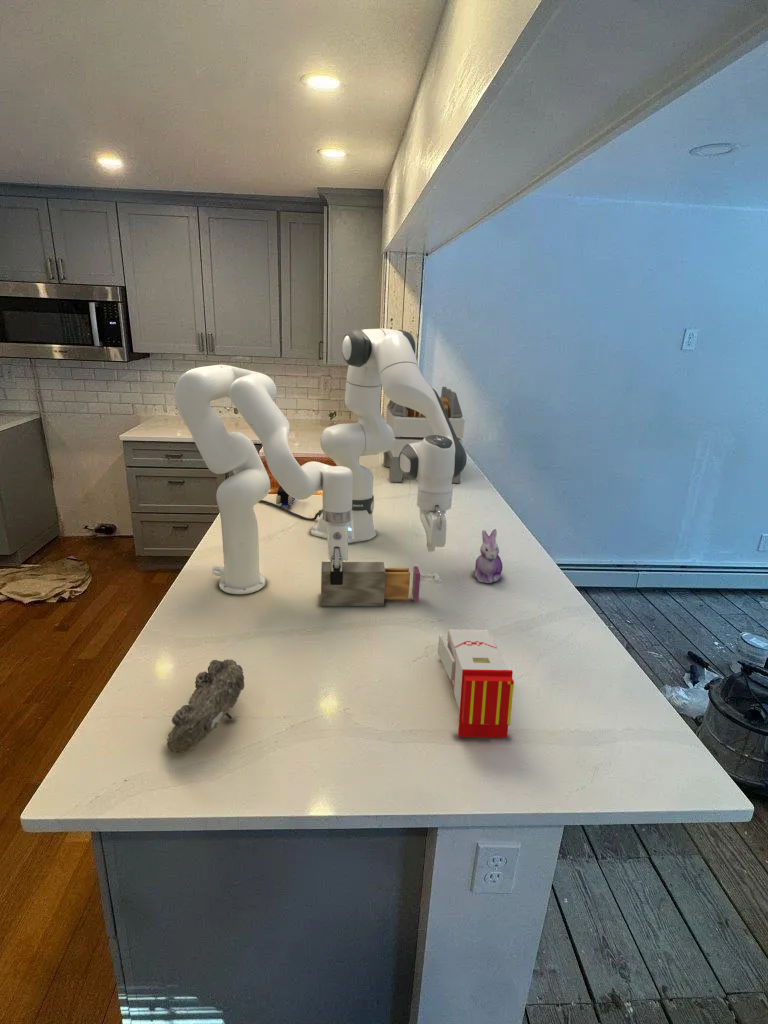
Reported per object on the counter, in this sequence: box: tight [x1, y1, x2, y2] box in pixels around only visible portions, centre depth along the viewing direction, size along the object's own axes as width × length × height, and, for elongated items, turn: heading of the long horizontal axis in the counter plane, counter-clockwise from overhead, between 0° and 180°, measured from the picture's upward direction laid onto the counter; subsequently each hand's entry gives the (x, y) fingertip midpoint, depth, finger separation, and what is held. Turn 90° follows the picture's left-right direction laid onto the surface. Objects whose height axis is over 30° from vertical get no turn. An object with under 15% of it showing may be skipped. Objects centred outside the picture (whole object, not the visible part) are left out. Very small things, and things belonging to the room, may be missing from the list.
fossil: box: [166, 658, 245, 754], centre depth 106 cm, size 22×10×15 cm
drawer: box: [384, 565, 442, 603], centre depth 153 cm, size 21×5×8 cm, turn 95°
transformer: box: [383, 386, 465, 484], centre depth 268 cm, size 34×33×41 cm
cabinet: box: [320, 561, 386, 607], centre depth 152 cm, size 17×6×10 cm, turn 95°
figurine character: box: [275, 485, 296, 509], centre depth 223 cm, size 7×8×15 cm
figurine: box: [474, 528, 503, 584], centre depth 167 cm, size 9×10×15 cm
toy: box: [437, 628, 515, 738], centre depth 117 cm, size 12×13×30 cm
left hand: (336, 577), depth 151 cm, fingers open, 6 cm apart
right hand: (430, 549), depth 150 cm, fingers closed
